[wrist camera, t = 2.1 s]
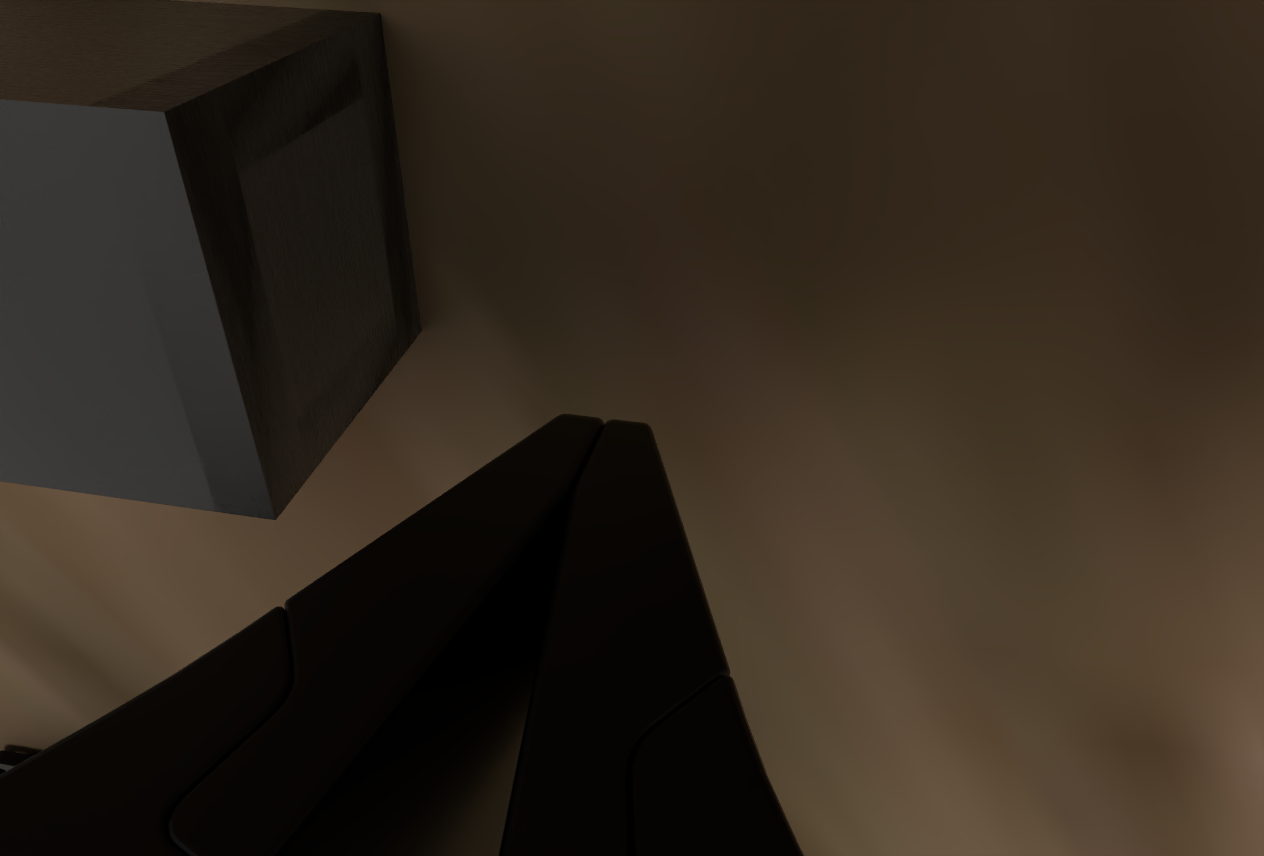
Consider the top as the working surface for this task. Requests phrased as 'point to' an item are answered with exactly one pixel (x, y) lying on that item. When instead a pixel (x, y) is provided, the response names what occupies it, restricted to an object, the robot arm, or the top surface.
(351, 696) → the robot arm
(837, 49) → the top surface
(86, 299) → the dark-topped grey cube
